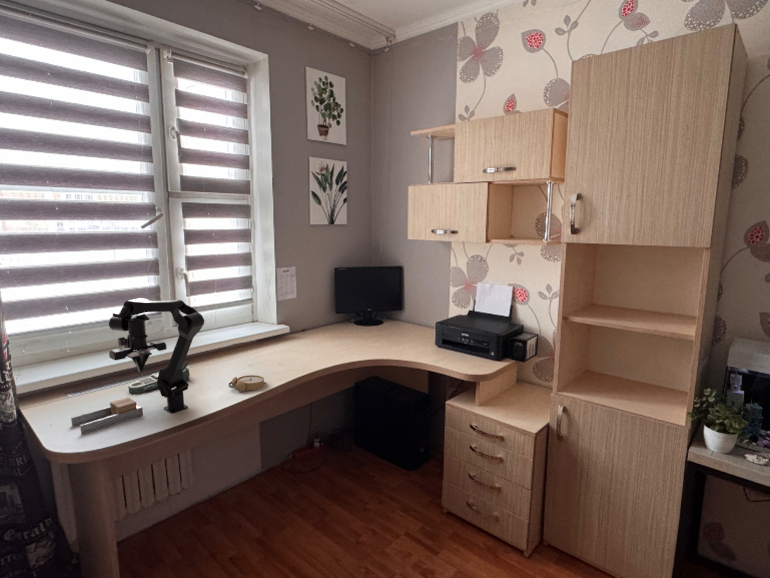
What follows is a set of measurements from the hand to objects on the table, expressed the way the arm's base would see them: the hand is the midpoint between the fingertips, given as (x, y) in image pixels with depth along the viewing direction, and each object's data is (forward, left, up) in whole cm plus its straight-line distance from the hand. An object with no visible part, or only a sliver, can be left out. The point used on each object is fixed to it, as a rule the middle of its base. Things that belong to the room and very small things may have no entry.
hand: (140, 371), depth 174 cm
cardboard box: (-6, +9, -13) cm, 17 cm away
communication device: (+16, -13, -14) cm, 25 cm away
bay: (-6, +14, -13) cm, 20 cm away
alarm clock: (-16, -36, -14) cm, 41 cm away
